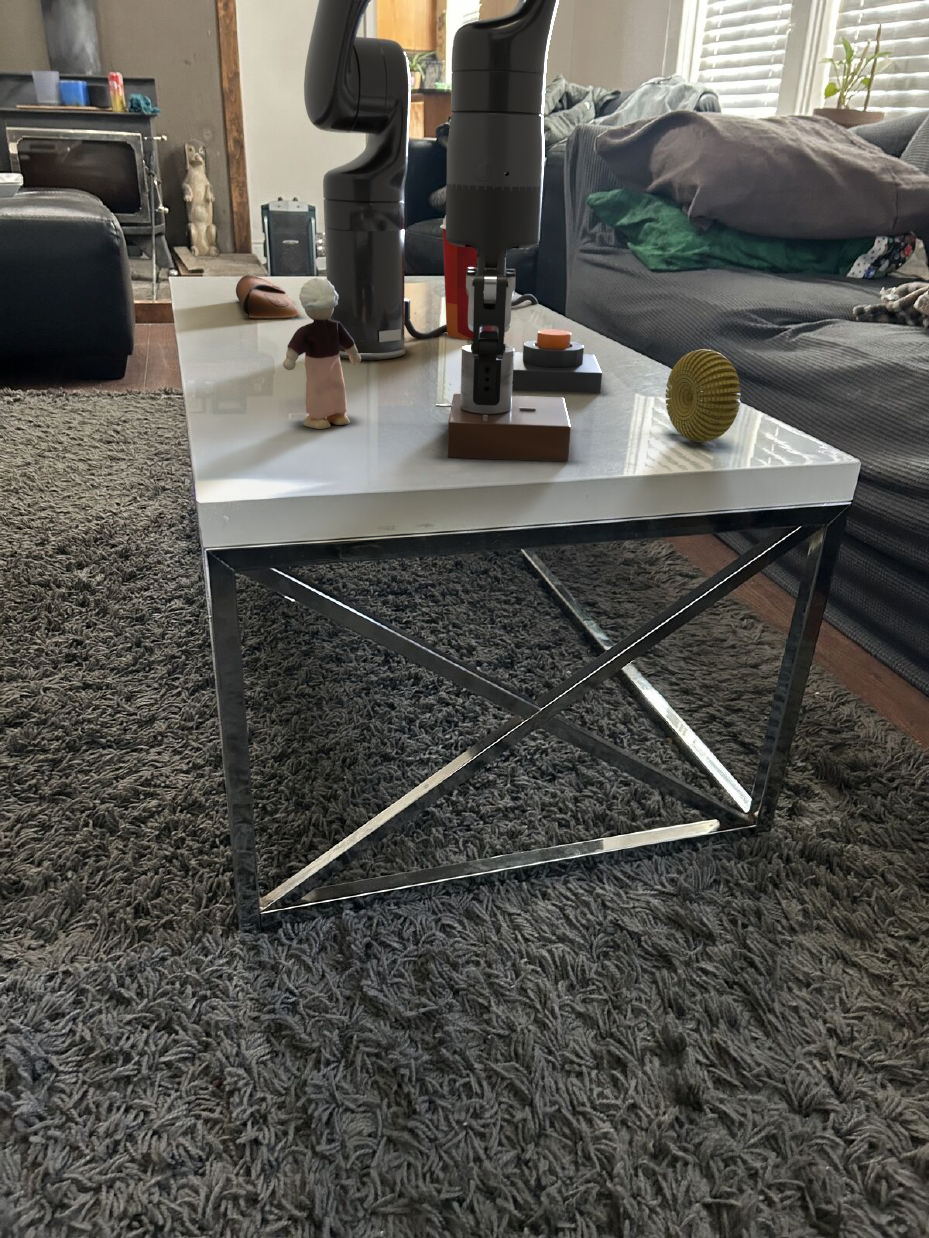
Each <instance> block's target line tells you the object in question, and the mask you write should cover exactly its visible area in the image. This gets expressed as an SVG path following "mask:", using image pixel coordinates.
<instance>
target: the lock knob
mask: <svg viewBox="0 0 929 1238" xmlns="http://www.w3.org/2000/svg"><path fill="white" fill-rule="evenodd" d="M514 352H515V348H514V347H512V346H511V345H506V348H505V355H504V354H503V359H501V383H500V401H499V403H498V404H497V405H494V406H492V405H477V404H475V403H474V402H473V378H474V358H473V354H472V353H471V343H469V344H465V345H463V346H462V347H461V365H460V367H461V368H460V394H461V400H460V407H461V408H462V409H463V410H465V411H469V412H473V413H481V414H497V413H504V412H507V411H509V410H511V406H512V396H513V390H512V386H513V365H514Z"/></svg>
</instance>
